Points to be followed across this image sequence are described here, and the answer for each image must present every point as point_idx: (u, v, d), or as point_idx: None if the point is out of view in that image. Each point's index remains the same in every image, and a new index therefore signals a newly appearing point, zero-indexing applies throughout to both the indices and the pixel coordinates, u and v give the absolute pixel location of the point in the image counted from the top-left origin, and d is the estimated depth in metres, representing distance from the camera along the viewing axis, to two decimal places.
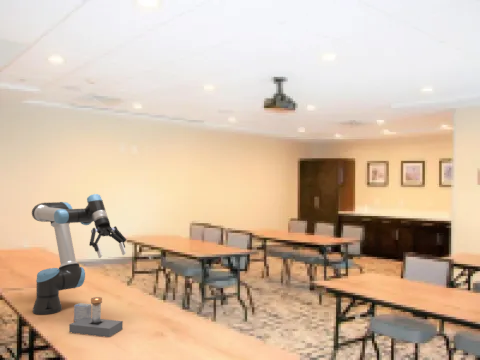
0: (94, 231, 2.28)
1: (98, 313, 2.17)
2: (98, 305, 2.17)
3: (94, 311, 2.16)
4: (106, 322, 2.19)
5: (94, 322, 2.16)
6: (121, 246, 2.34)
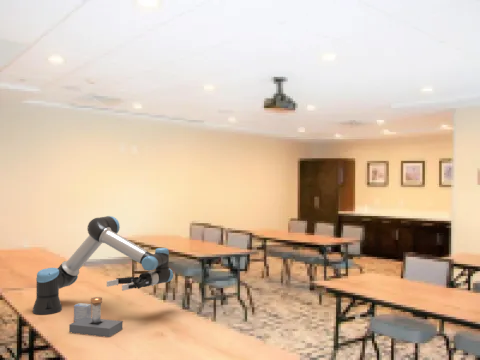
0: None
1: (98, 313, 2.17)
2: (98, 305, 2.17)
3: (94, 311, 2.16)
4: (106, 322, 2.19)
5: (94, 322, 2.16)
6: (114, 283, 2.32)
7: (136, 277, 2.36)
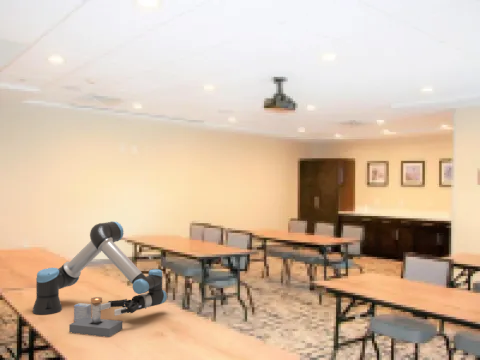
0: None
1: (98, 313, 2.17)
2: (98, 305, 2.17)
3: (94, 311, 2.16)
4: (106, 322, 2.19)
5: (94, 322, 2.16)
6: (107, 306, 2.29)
7: (129, 300, 2.33)
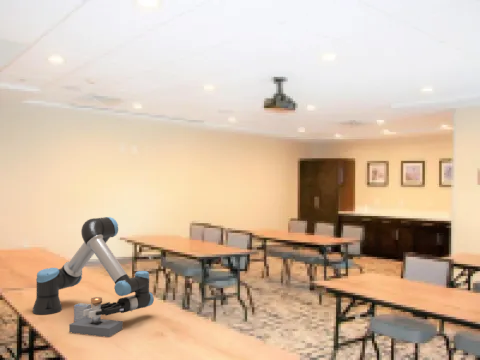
0: None
1: None
2: (98, 305, 2.17)
3: None
4: (106, 322, 2.19)
5: (94, 322, 2.16)
6: None
7: (115, 303, 2.27)
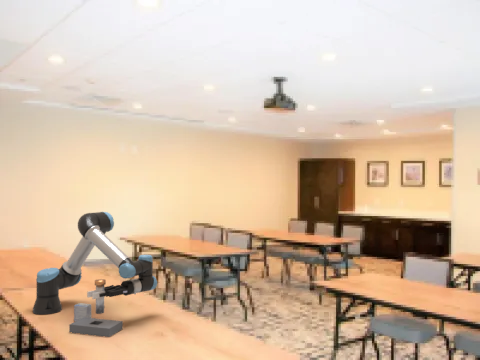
0: None
1: None
2: (102, 287, 2.18)
3: None
4: (106, 322, 2.19)
5: (98, 304, 2.17)
6: None
7: (118, 285, 2.28)
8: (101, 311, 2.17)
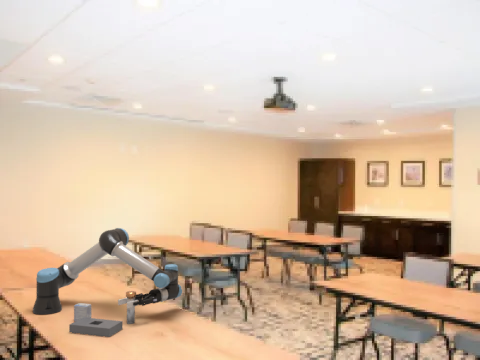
0: None
1: None
2: (133, 298, 2.29)
3: None
4: (106, 322, 2.19)
5: (129, 314, 2.29)
6: (125, 301, 2.33)
7: (147, 294, 2.40)
8: (132, 321, 2.29)
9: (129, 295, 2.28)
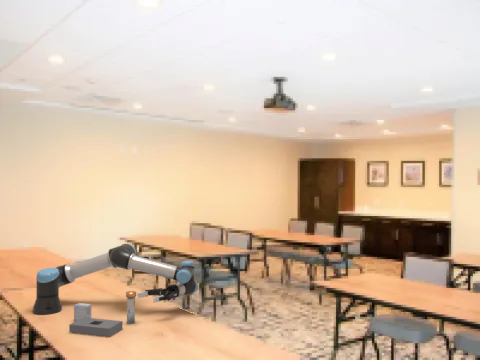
0: None
1: (133, 306, 2.29)
2: (133, 298, 2.29)
3: (129, 304, 2.29)
4: (106, 322, 2.19)
5: (129, 314, 2.29)
6: (144, 294, 2.46)
7: (164, 289, 2.49)
8: (132, 321, 2.29)
9: (129, 295, 2.28)
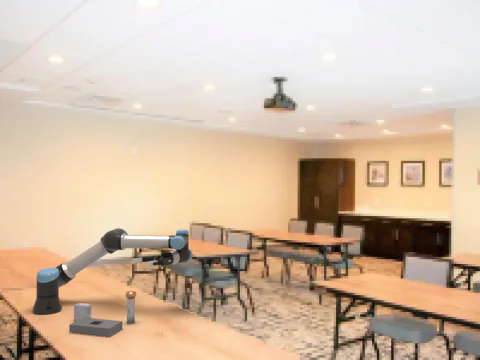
0: (167, 263, 2.45)
1: (133, 306, 2.29)
2: (133, 298, 2.29)
3: (129, 304, 2.29)
4: (106, 322, 2.19)
5: (129, 314, 2.29)
6: (138, 261, 2.46)
7: (159, 256, 2.50)
8: (132, 321, 2.29)
9: (129, 295, 2.28)
